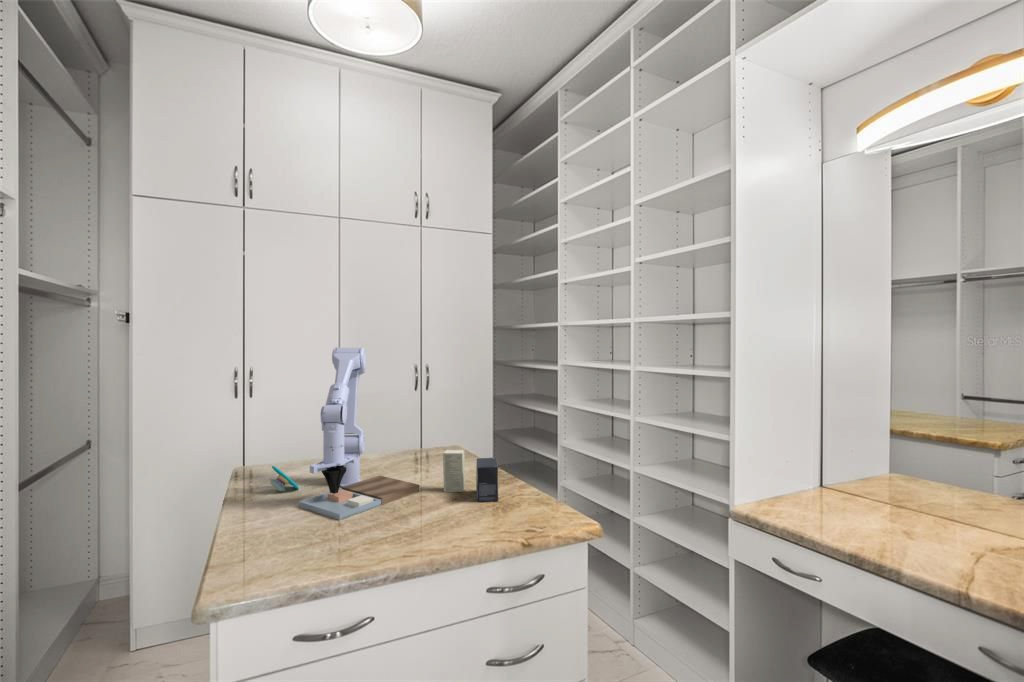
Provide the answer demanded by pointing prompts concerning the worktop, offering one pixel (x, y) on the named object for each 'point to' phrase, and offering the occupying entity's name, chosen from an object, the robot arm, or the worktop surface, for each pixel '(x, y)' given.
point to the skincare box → (454, 470)
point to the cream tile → (359, 501)
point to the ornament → (281, 481)
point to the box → (336, 506)
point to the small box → (487, 480)
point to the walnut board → (383, 488)
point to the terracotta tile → (340, 496)
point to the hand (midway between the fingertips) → (334, 492)
